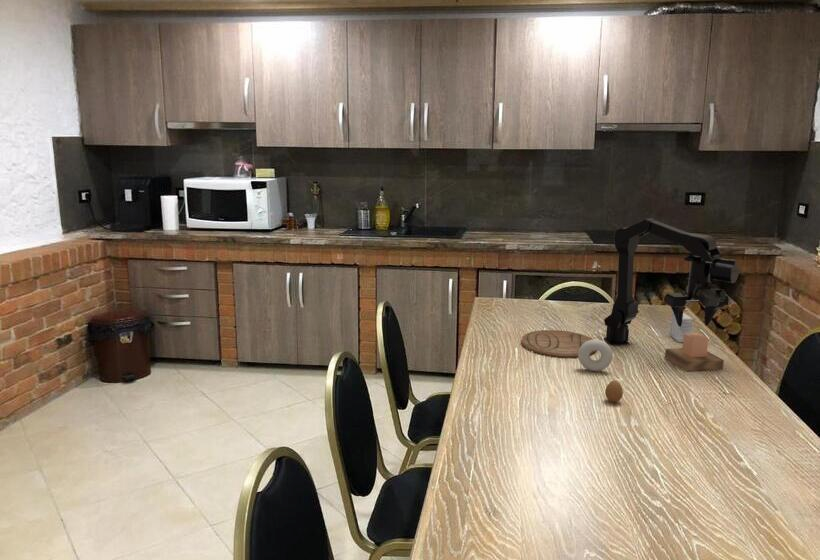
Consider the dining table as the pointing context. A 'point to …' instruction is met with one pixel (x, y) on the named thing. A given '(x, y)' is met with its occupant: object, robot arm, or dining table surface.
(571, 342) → the trivet
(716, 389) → the dining table surface
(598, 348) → the donut
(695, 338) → the terracotta block
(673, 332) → the medicine box
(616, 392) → the egg
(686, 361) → the walnut base
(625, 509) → the dining table surface
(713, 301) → the robot arm
